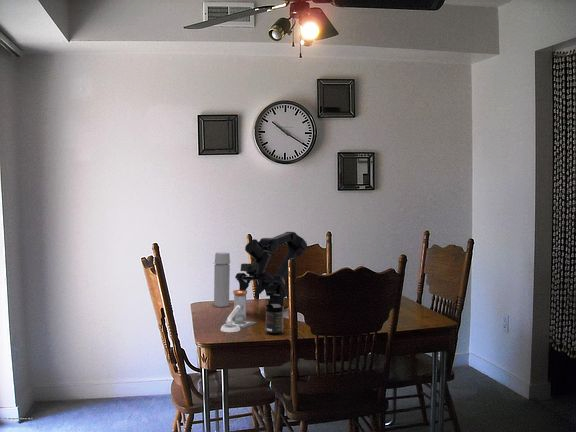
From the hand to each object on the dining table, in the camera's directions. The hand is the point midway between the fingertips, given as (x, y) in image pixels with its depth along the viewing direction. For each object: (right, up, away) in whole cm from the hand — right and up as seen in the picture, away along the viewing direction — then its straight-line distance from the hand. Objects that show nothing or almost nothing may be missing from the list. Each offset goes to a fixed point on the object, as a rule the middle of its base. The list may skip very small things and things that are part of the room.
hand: (247, 296), depth 225 cm
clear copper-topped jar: (-2, -9, -10) cm, 14 cm away
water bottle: (-14, -8, +26) cm, 31 cm away
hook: (-5, -10, -19) cm, 22 cm away
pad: (-2, -10, -10) cm, 14 cm away
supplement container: (+12, -11, -22) cm, 27 cm away
